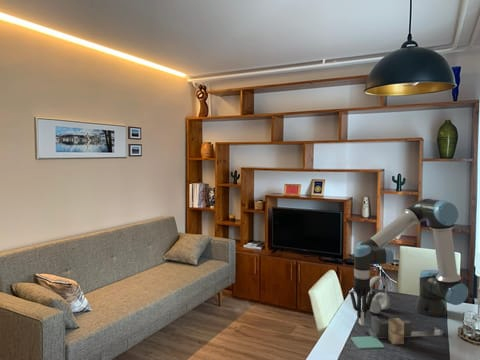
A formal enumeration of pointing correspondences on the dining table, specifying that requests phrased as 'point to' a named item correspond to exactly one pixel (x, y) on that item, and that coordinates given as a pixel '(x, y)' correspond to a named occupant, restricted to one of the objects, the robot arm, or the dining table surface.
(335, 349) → the dining table surface
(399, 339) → the beech block
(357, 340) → the pad
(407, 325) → the grey l-shaped block
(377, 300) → the headphones
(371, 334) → the rail
